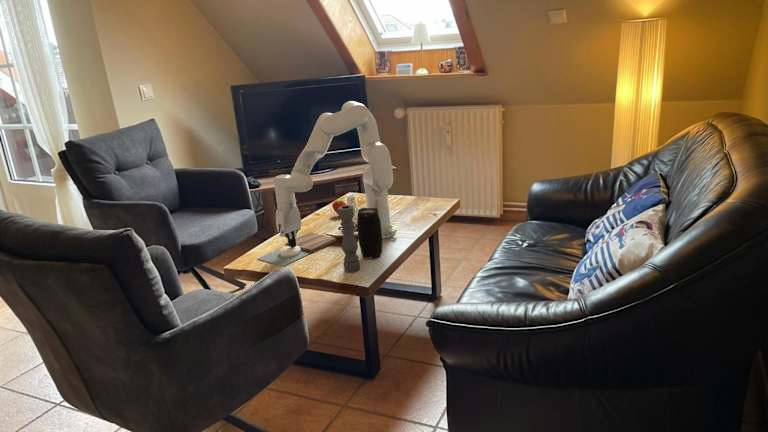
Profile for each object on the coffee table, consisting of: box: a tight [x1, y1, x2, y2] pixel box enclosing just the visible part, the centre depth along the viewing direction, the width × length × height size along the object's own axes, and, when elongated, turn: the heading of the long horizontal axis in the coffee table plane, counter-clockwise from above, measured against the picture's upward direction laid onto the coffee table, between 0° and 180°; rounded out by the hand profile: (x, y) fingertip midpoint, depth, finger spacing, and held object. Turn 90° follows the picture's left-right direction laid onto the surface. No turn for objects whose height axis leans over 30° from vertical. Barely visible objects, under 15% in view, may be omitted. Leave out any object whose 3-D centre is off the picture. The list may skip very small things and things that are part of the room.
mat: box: [257, 248, 311, 267], centre depth 231 cm, size 16×15×1 cm
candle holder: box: [337, 204, 361, 274], centre depth 208 cm, size 6×6×25 cm
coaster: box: [278, 245, 301, 257], centre depth 233 cm, size 9×9×2 cm
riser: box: [284, 232, 337, 254], centre depth 242 cm, size 16×15×2 cm
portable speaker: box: [356, 207, 383, 260], centre depth 220 cm, size 9×9×20 cm
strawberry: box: [332, 196, 347, 216], centre depth 276 cm, size 6×8×10 cm
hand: (292, 246), depth 234 cm, fingers closed
